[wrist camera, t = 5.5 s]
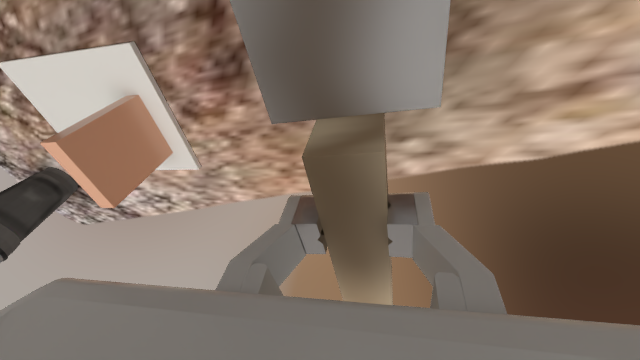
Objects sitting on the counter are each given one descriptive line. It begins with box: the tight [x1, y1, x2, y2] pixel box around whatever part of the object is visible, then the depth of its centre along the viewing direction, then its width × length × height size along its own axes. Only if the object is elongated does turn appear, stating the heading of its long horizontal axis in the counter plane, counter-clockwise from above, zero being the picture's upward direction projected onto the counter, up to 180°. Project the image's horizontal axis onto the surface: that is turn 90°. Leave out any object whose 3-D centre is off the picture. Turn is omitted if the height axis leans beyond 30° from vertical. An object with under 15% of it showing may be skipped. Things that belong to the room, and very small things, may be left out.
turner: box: [230, 0, 450, 305], centre depth 10 cm, size 6×17×3 cm, turn 11°
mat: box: [0, 41, 201, 170], centre depth 30 cm, size 14×17×1 cm
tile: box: [40, 95, 173, 208], centre depth 25 cm, size 7×2×9 cm, turn 9°
